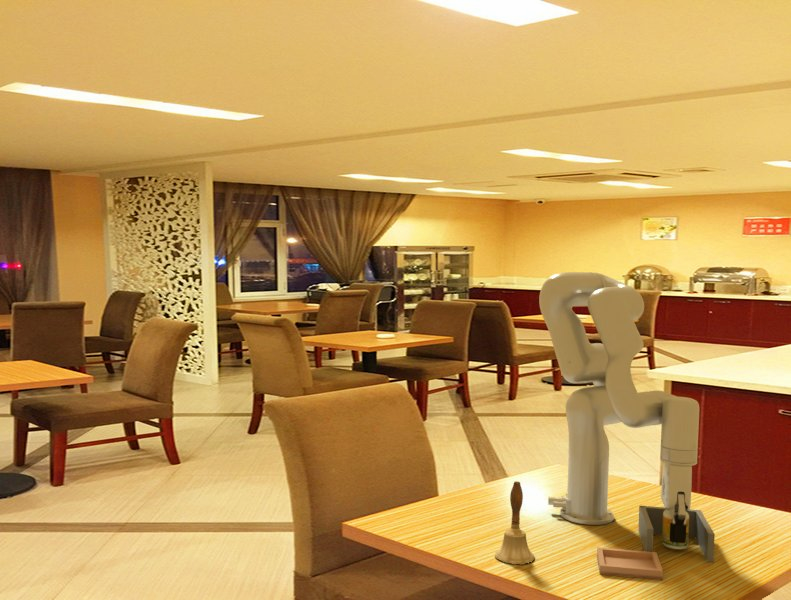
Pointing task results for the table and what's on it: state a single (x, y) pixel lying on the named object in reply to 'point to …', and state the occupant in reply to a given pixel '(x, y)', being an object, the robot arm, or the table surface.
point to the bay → (697, 528)
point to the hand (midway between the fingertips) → (675, 536)
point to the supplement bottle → (666, 530)
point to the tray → (629, 563)
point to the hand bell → (515, 534)
